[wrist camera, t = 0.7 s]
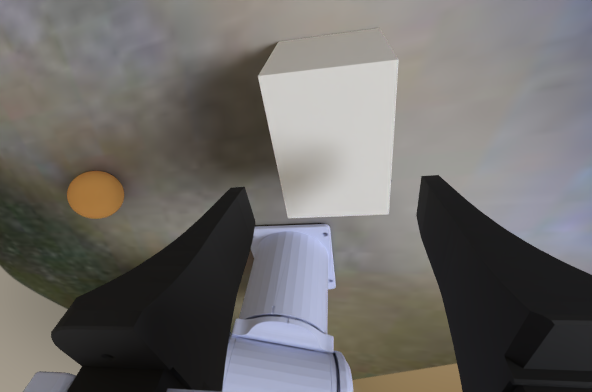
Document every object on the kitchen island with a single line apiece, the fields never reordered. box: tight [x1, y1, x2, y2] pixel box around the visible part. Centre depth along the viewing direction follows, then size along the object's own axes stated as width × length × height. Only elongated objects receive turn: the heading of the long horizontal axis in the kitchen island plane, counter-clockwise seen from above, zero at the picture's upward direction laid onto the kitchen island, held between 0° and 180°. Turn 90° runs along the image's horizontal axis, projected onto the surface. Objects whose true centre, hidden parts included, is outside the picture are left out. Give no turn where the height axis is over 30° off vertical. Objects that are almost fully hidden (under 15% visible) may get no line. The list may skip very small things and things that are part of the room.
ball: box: [67, 171, 124, 219], centre depth 25 cm, size 4×4×4 cm
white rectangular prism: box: [258, 28, 398, 218], centre depth 18 cm, size 9×6×7 cm
